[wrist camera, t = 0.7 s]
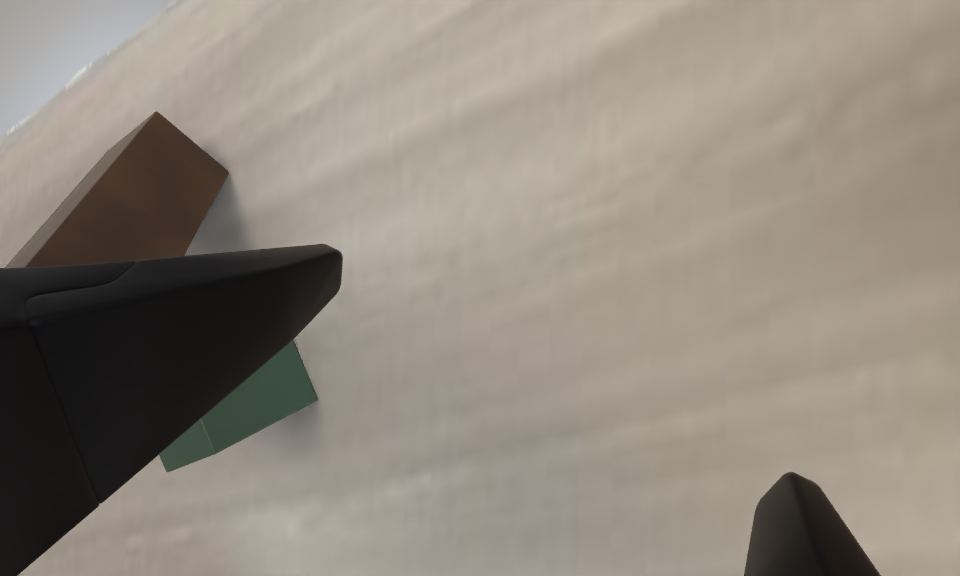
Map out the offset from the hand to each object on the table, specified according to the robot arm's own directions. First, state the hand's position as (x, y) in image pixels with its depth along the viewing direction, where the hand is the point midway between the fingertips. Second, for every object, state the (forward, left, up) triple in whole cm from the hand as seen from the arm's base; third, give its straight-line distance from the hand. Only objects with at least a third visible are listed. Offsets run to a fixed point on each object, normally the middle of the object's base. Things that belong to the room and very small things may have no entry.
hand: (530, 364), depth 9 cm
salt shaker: (-6, +21, -13) cm, 25 cm away
